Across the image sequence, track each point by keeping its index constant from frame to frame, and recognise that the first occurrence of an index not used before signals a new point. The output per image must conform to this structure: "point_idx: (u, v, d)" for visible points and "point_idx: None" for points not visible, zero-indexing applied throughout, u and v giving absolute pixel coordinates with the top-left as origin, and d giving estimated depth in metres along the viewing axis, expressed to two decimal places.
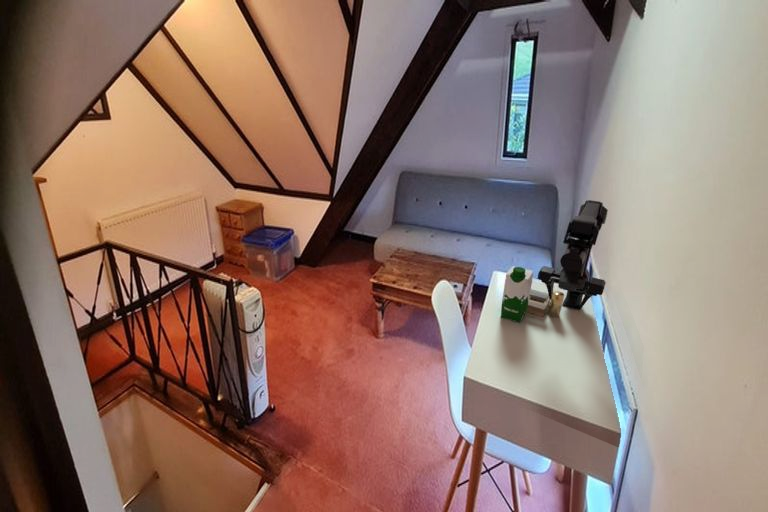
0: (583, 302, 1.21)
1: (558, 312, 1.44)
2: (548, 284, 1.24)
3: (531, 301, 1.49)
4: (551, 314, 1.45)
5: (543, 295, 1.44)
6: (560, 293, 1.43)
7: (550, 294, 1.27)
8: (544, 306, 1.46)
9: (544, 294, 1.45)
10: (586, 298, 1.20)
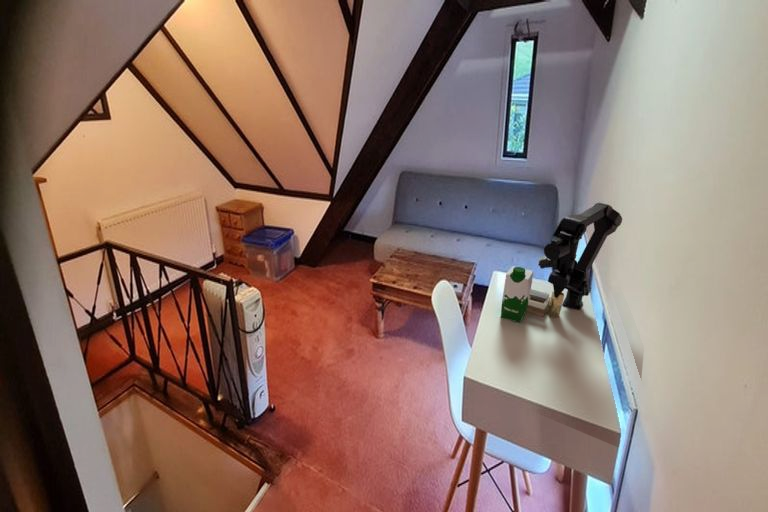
0: None
1: (558, 312, 1.44)
2: None
3: (531, 301, 1.49)
4: (551, 314, 1.45)
5: (543, 295, 1.44)
6: None
7: None
8: (544, 306, 1.46)
9: (544, 294, 1.45)
10: None
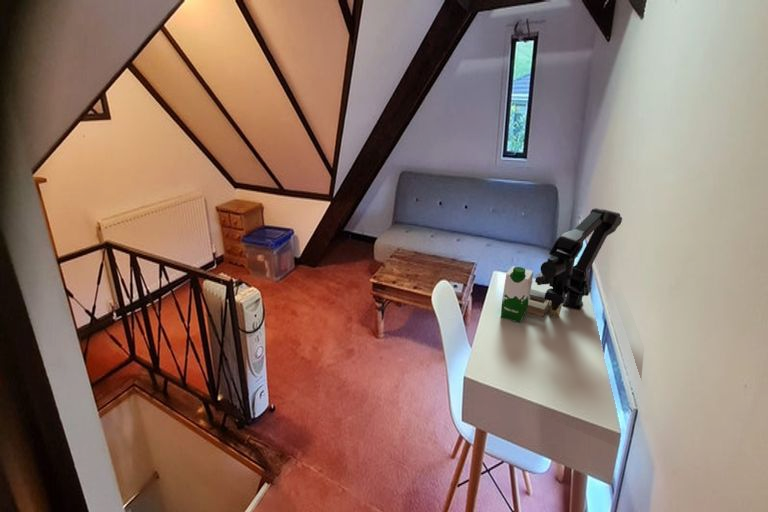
0: None
1: (558, 312, 1.44)
2: None
3: (531, 301, 1.49)
4: (551, 314, 1.45)
5: (543, 295, 1.44)
6: None
7: None
8: (544, 306, 1.46)
9: (544, 294, 1.45)
10: None
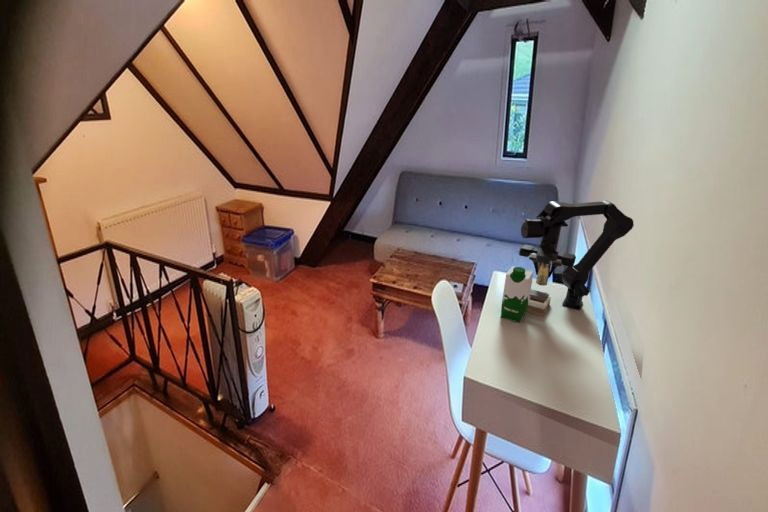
0: (550, 272, 1.44)
1: None
2: (535, 261, 1.44)
3: (531, 301, 1.49)
4: (547, 282, 1.46)
5: (543, 295, 1.44)
6: None
7: (536, 270, 1.47)
8: (544, 306, 1.46)
9: (544, 294, 1.45)
10: (553, 269, 1.43)
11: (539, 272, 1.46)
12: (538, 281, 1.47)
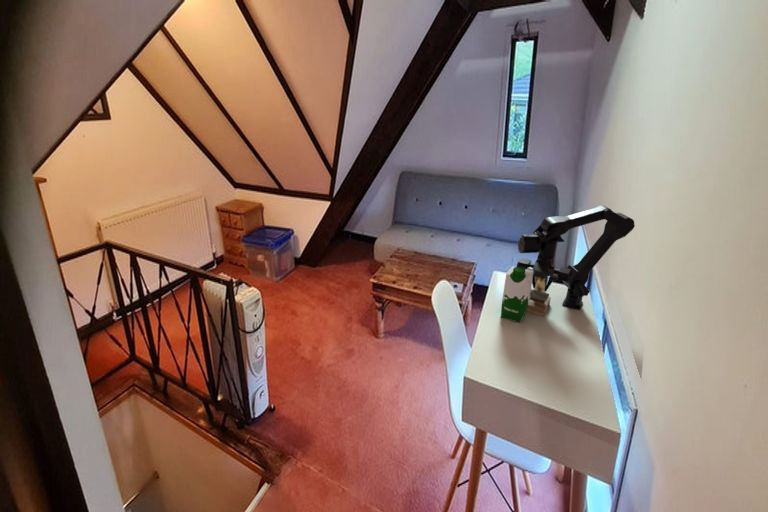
0: (547, 286, 1.47)
1: None
2: None
3: (531, 301, 1.49)
4: None
5: (543, 295, 1.44)
6: None
7: (534, 283, 1.49)
8: (544, 306, 1.46)
9: (544, 294, 1.45)
10: (549, 283, 1.45)
11: (536, 286, 1.48)
12: None
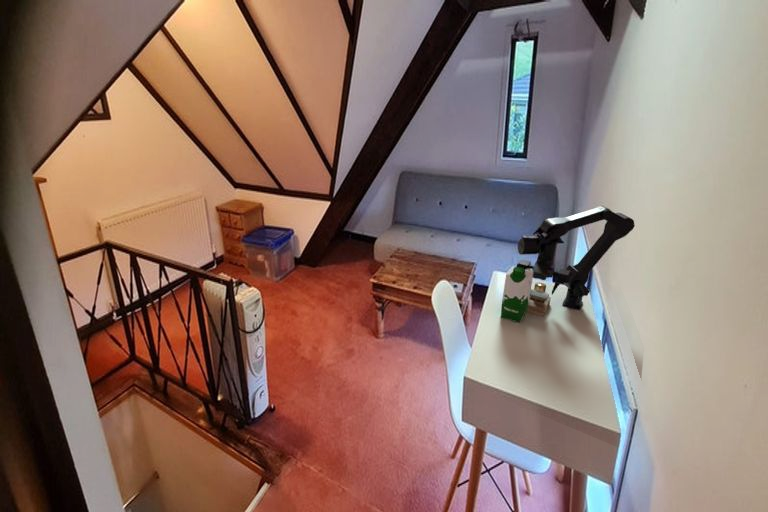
0: (553, 289, 1.46)
1: None
2: None
3: (531, 301, 1.49)
4: None
5: (543, 295, 1.44)
6: (539, 283, 1.50)
7: None
8: (544, 306, 1.46)
9: (544, 294, 1.45)
10: (556, 286, 1.44)
11: None
12: None
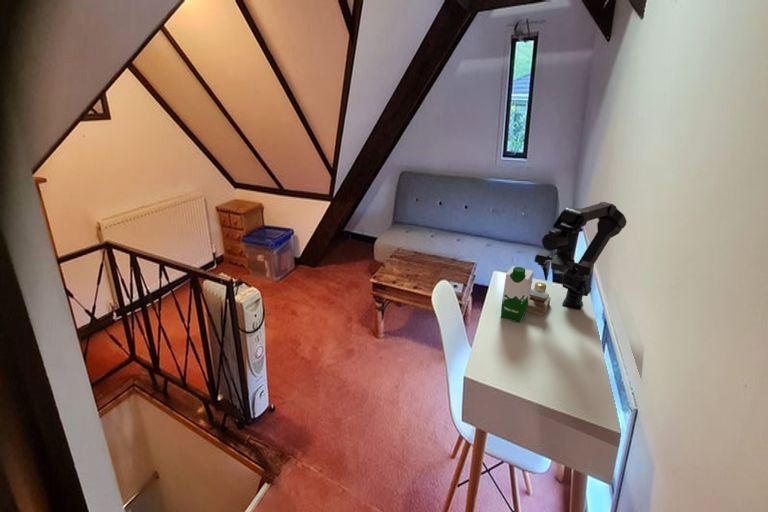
0: (574, 282, 1.39)
1: None
2: (543, 266, 1.42)
3: (531, 301, 1.49)
4: None
5: (543, 295, 1.44)
6: (539, 283, 1.50)
7: (546, 275, 1.44)
8: (544, 306, 1.46)
9: (544, 294, 1.45)
10: (576, 279, 1.37)
11: None
12: None
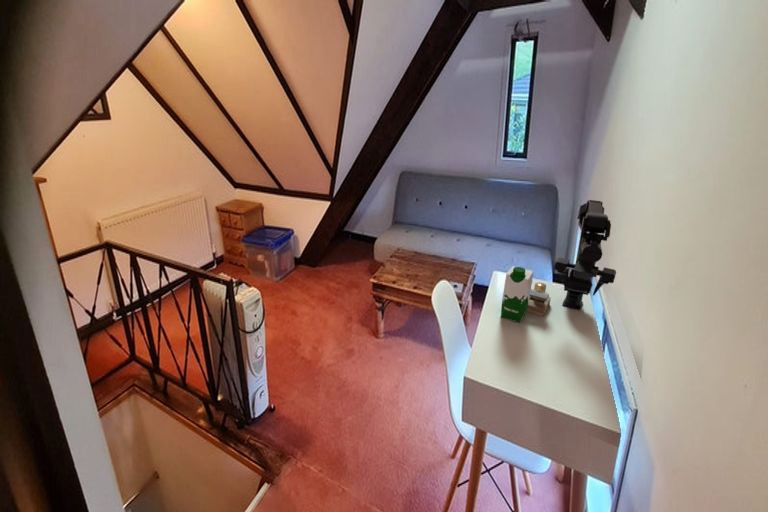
0: (595, 290, 1.34)
1: None
2: (563, 274, 1.37)
3: (531, 301, 1.49)
4: None
5: (543, 295, 1.44)
6: (539, 283, 1.50)
7: (565, 283, 1.39)
8: (544, 306, 1.46)
9: (544, 294, 1.45)
10: (598, 286, 1.33)
11: None
12: None
